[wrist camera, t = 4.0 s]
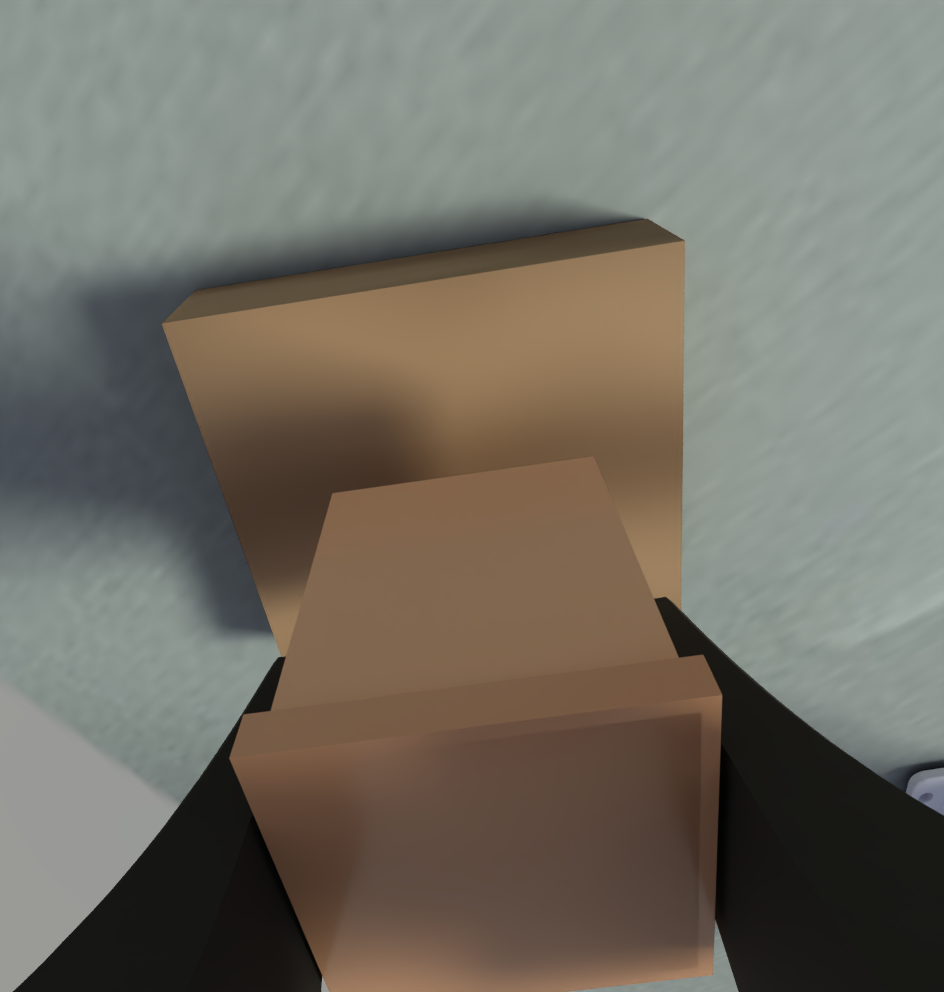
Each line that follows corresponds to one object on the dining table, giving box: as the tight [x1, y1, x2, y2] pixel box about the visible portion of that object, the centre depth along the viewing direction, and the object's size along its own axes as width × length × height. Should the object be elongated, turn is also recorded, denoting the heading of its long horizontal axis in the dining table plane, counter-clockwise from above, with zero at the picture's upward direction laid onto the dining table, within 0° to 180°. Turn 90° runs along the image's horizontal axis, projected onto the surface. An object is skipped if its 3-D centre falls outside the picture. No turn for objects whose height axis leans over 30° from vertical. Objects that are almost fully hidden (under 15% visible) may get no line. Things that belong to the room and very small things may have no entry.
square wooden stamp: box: [229, 456, 722, 992], centre depth 11 cm, size 5×5×6 cm
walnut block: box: [162, 219, 685, 657], centre depth 17 cm, size 10×10×2 cm
